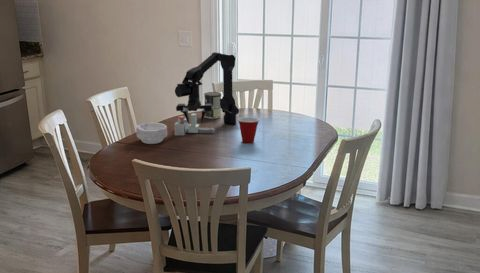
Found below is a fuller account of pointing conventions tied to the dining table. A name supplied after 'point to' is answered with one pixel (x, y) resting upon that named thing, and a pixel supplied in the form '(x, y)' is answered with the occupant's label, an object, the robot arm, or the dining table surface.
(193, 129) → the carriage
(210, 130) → the rail
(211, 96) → the coffee can
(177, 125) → the grey blocky piece
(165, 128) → the paper bowls
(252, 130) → the plastic cup
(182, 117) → the orange knob lever
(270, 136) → the dining table surface
